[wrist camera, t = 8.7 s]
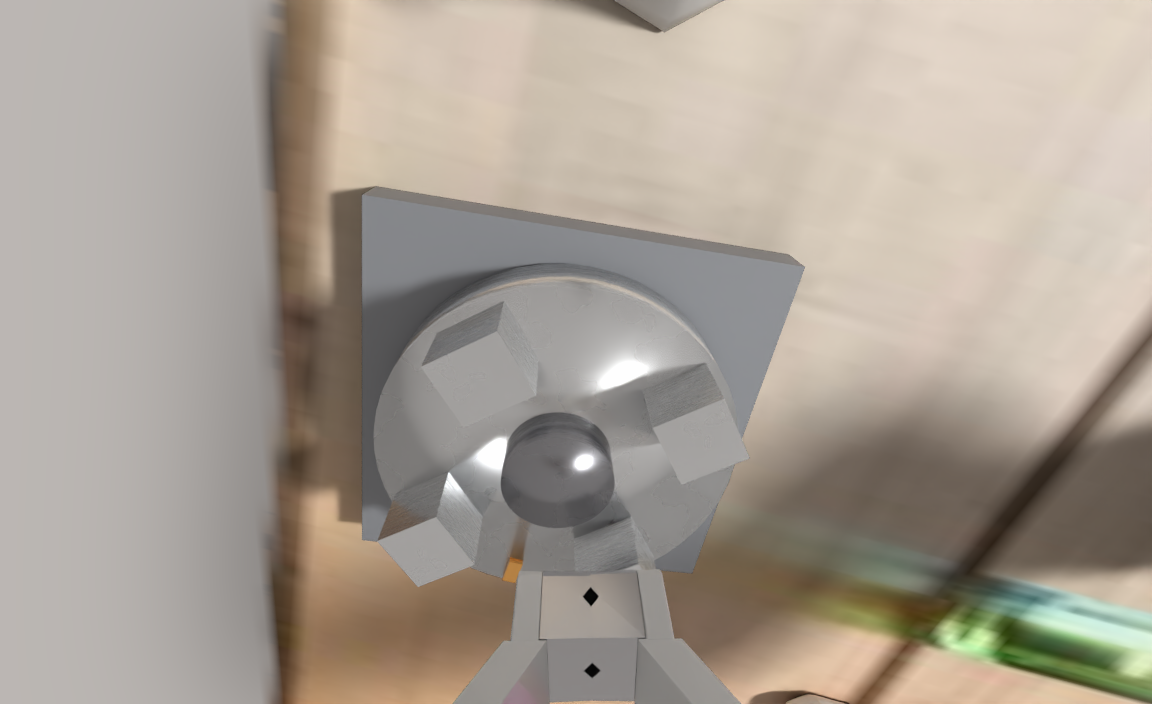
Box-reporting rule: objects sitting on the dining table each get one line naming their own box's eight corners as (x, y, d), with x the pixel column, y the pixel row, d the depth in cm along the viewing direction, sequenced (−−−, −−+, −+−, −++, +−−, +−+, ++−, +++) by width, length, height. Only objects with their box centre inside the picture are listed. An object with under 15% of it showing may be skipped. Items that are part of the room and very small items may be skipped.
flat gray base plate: (788, 254, 27) (806, 268, 25) (685, 548, 36) (692, 576, 34) (375, 186, 25) (360, 195, 23) (372, 515, 34) (361, 542, 32)
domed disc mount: (431, 212, 24) (394, 252, 18) (780, 326, 27) (836, 389, 21) (365, 503, 31) (324, 594, 25) (646, 568, 34) (663, 662, 28)
